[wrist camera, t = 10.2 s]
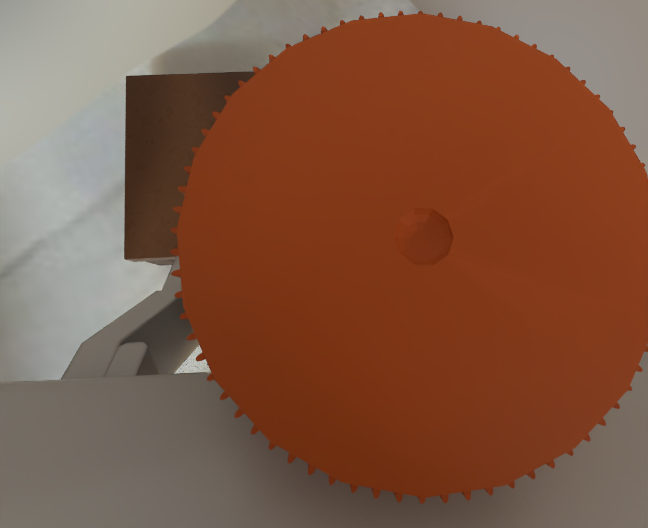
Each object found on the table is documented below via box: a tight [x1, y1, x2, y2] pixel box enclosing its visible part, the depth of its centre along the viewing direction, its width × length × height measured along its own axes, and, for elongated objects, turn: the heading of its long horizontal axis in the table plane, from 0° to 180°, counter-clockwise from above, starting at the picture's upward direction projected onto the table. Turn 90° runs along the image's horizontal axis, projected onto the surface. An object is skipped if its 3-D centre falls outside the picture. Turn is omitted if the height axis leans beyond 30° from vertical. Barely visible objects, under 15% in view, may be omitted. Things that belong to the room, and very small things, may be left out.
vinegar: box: [170, 11, 648, 504], centre depth 14 cm, size 7×7×20 cm
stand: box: [124, 71, 254, 265], centre depth 33 cm, size 15×15×6 cm
